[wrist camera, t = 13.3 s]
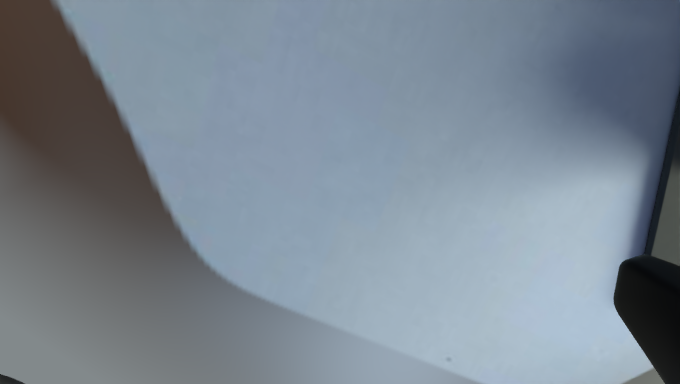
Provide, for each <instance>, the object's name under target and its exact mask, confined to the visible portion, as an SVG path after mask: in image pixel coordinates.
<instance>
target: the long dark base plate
mask: <svg viewBox="0 0 680 384" xmlns="http://www.w3.org/2000/svg"><path fill="white" fill-rule="evenodd" d="M644 255H650V256H654V257H656V258H659V259H662V260H665V261H668V262H670V263H673V264H676V265H679V266H680V92H679V97H678V101H677V106H676V111H675V115H674V120H673V124H672V129H671V134H670V138H669V143H668V148H667V152H666V157H665V162H664V166H663V171H662V175H661V180H660V185H659V189H658V194H657V199H656V203H655V208H654V213H653V217H652V222H651V226H650V231H649V236H648V240H647V245H646V250H645V254H644Z"/></svg>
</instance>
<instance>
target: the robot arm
mask: <svg viewBox="0 0 680 384" xmlns="http://www.w3.org/2000/svg"><path fill="white" fill-rule="evenodd" d="M614 305H615V308H616V310H617V312H618V314H619V316H620V317H621V319H622V320H623V322H624V323H625V325H626V326H627V328H628V329H629V331H630V332H631V334H632V335H633V337H634V338H635V340H636V341H637V343H638V344H639V346H640V347H641V349H642V350H643V351H644V353H645V354H646V356H647V357H648V359H649V360H650V362H651V363H652V365H653V366H654V368H655V369H656V371H657V372H658V374H659V375H660V377H661V378H662V380H663V381H664V383H665V384H680V266H679V265H676V264H673V263H670V262H668V261H665V260H662V259H659V258H656V257H654V256H650V255H640V256H637V257H634V258H630V259H627V260H625V261H623V262H622V263H621V265H620V267H619V271H618V276H617V282H616V287H615V292H614Z"/></svg>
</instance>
